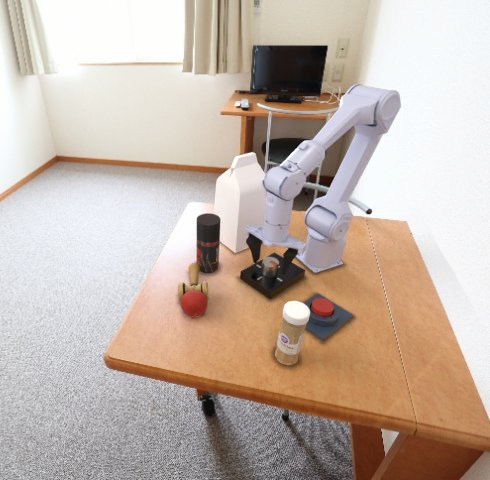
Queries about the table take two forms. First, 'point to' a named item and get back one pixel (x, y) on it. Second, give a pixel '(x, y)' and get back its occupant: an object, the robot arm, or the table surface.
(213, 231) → the deodorant
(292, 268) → the hob panel
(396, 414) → the table surface
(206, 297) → the kendama
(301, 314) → the sprinkles bottle
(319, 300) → the push knob
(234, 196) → the milk
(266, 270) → the dial
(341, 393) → the table surface
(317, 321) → the button base
